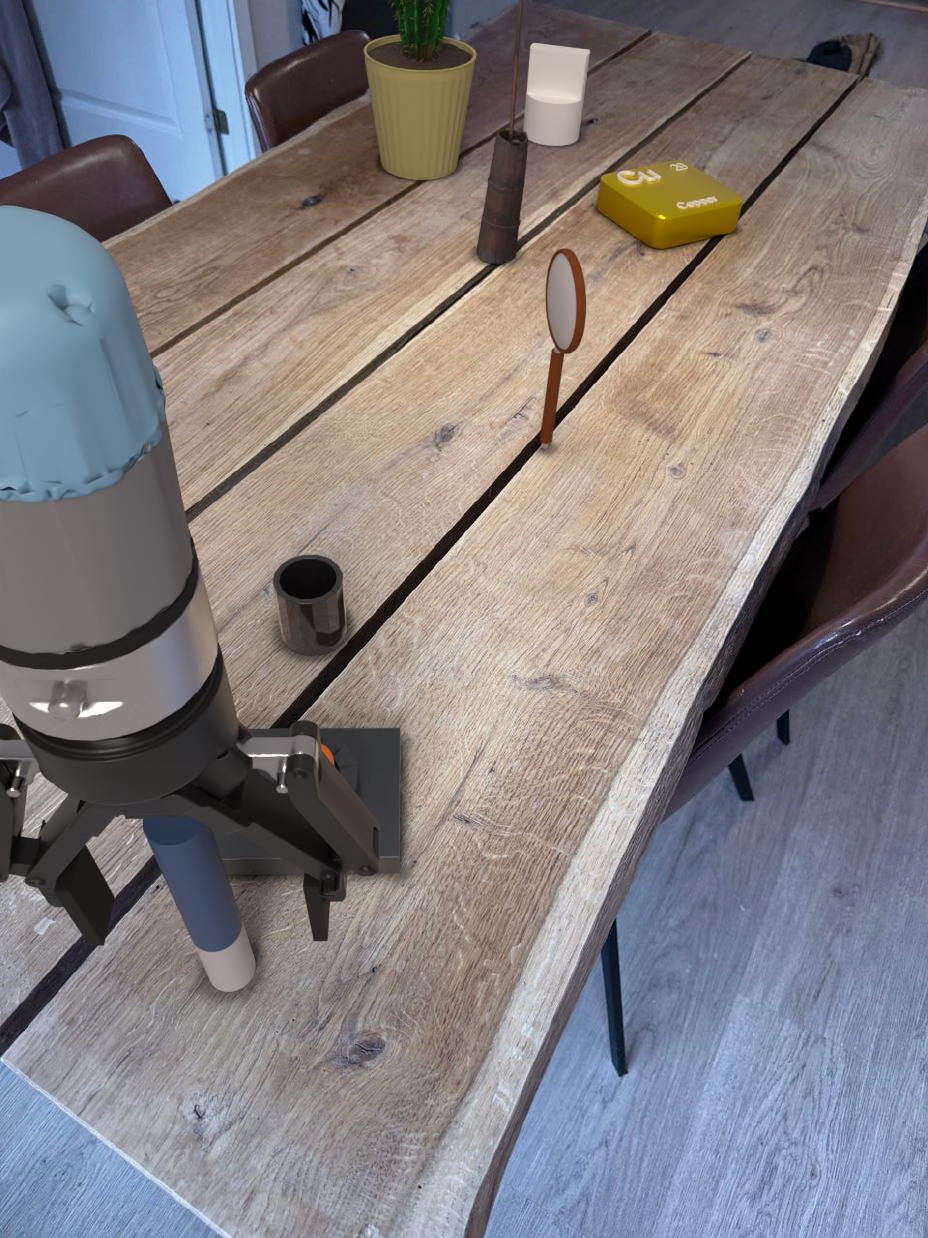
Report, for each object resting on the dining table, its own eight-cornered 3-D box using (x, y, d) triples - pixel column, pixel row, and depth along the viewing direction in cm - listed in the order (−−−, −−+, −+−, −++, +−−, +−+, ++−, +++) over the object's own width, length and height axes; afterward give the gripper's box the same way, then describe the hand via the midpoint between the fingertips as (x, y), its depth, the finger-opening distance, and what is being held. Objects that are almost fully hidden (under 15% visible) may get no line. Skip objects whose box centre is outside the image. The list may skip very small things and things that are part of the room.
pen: (205, 993, 53) (136, 846, 40) (212, 946, 55) (148, 791, 42) (252, 992, 54) (200, 846, 40) (258, 945, 55) (210, 791, 42)
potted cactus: (485, 154, 138) (500, -92, 115) (448, 194, 128) (456, -68, 106) (393, 136, 141) (389, -108, 119) (349, 173, 131) (337, -85, 109)
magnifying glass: (524, 423, 92) (546, 230, 78) (540, 422, 93) (566, 229, 78) (548, 476, 87) (577, 279, 72) (565, 474, 87) (597, 278, 72)
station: (213, 876, 58) (202, 846, 55) (233, 746, 65) (224, 713, 62) (399, 873, 59) (398, 843, 56) (400, 744, 66) (400, 712, 63)
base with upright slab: (582, 128, 147) (593, 43, 138) (574, 148, 141) (585, 62, 132) (528, 120, 148) (535, 36, 139) (517, 141, 142) (524, 54, 133)
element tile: (654, 252, 119) (662, 215, 115) (590, 206, 127) (595, 170, 124) (741, 231, 124) (751, 195, 121) (674, 188, 133) (681, 153, 129)
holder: (278, 655, 71) (269, 603, 66) (284, 606, 74) (276, 554, 70) (345, 655, 71) (341, 603, 67) (348, 606, 74) (344, 554, 70)
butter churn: (531, 281, 112) (559, 19, 91) (456, 271, 113) (467, 9, 92) (540, 247, 118) (568, -6, 97) (468, 238, 119) (481, -15, 98)
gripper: (-276, 755, 30) (-33, 995, 46) (440, 749, 31) (430, 984, 47) (-177, 590, 35) (11, 858, 51) (436, 591, 36) (428, 852, 52)
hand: (213, 919), depth 49 cm, fingers open, 11 cm apart
